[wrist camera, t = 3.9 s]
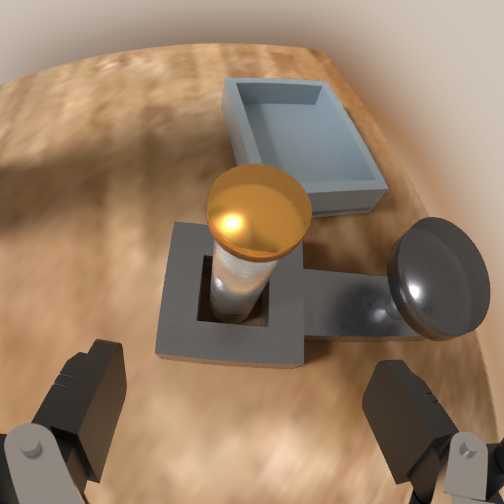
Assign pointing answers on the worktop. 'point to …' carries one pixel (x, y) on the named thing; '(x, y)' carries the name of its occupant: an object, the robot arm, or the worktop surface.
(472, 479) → the robot arm
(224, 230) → the pin
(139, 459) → the worktop surface
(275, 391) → the worktop surface
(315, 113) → the tray
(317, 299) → the tensioner
